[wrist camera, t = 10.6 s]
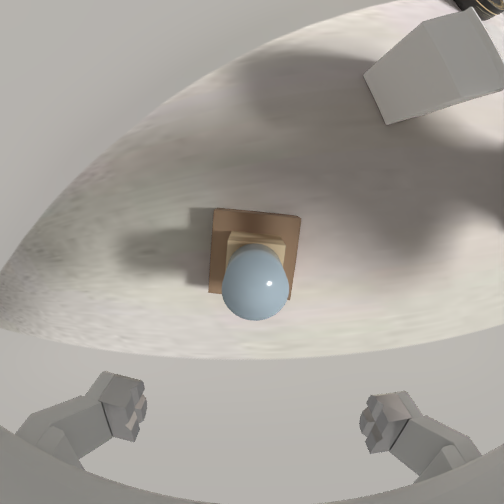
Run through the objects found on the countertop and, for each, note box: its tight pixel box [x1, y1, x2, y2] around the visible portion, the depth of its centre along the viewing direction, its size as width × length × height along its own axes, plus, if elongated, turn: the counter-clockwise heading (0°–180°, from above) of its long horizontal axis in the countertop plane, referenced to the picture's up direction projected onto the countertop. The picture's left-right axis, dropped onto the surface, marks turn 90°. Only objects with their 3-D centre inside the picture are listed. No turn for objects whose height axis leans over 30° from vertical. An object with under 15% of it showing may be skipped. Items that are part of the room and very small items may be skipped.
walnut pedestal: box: [208, 208, 301, 300], centre depth 31 cm, size 9×9×3 cm
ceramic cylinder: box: [222, 243, 289, 320], centre depth 23 cm, size 5×5×5 cm
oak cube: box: [225, 231, 286, 272], centre depth 27 cm, size 5×5×5 cm
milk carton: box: [363, 7, 504, 125], centre depth 19 cm, size 7×7×19 cm
